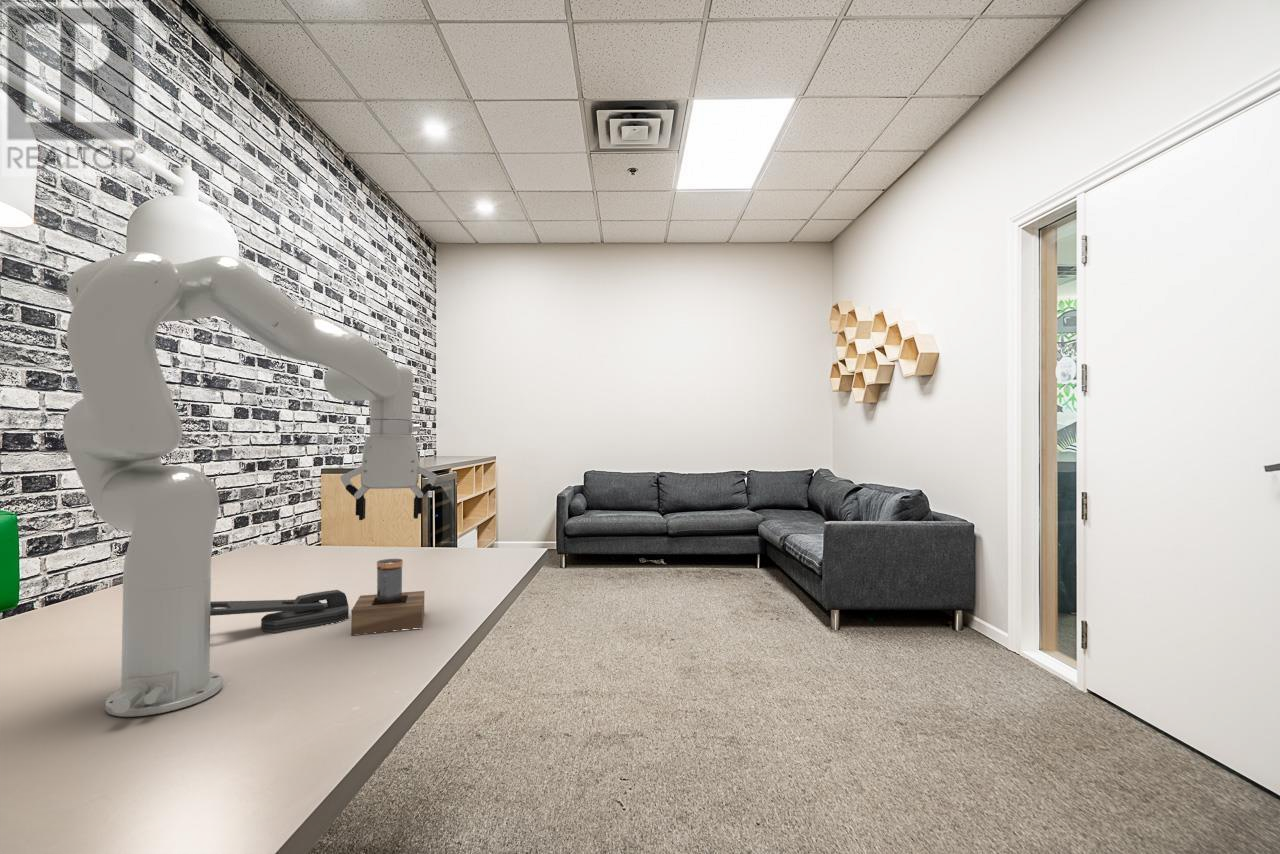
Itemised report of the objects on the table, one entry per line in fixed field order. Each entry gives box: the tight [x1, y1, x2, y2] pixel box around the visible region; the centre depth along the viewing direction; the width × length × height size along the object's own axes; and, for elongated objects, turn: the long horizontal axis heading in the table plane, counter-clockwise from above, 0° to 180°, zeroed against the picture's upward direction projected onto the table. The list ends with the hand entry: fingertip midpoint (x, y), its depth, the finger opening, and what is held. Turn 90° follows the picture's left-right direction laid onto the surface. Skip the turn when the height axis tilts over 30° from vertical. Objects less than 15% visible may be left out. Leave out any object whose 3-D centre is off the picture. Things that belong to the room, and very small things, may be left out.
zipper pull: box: [210, 589, 350, 635], centre depth 113 cm, size 9×7×25 cm
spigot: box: [376, 558, 404, 605], centre depth 115 cm, size 5×5×12 cm
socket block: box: [350, 590, 425, 636], centre depth 115 cm, size 11×12×4 cm
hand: (389, 518), depth 115 cm, fingers open, 9 cm apart
